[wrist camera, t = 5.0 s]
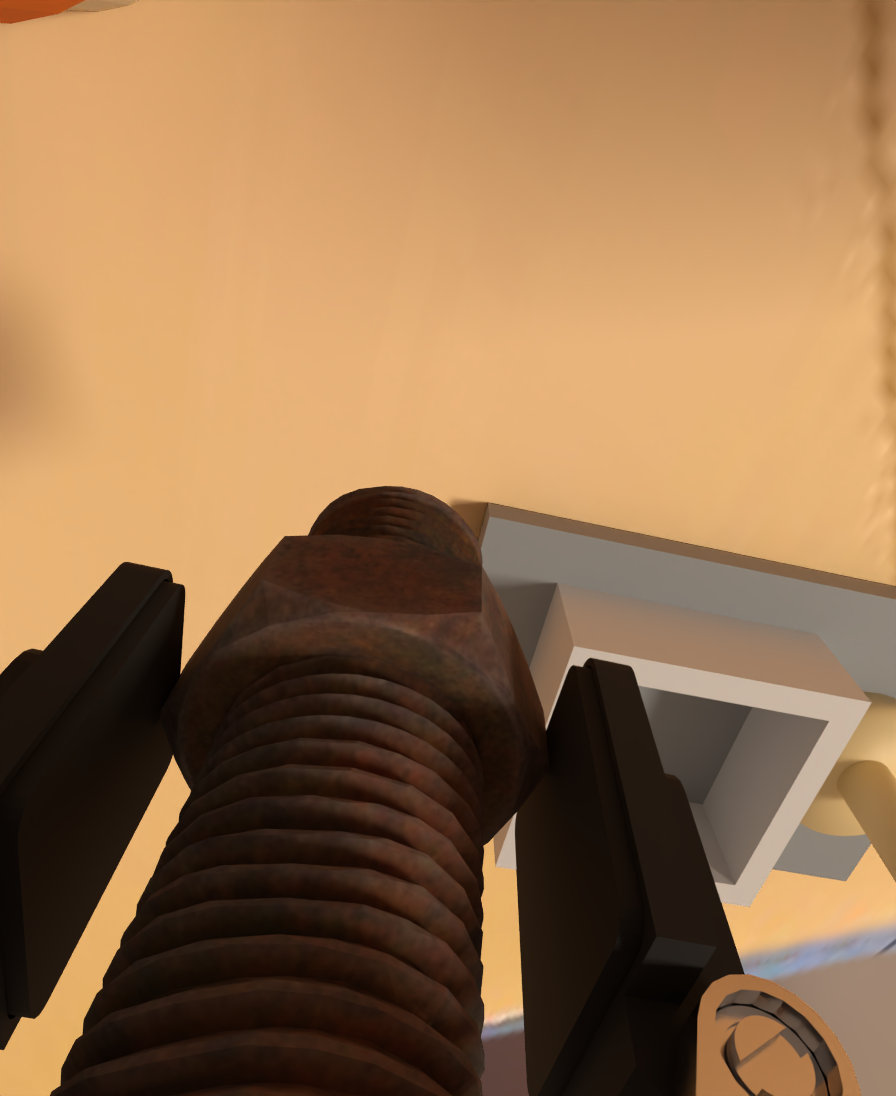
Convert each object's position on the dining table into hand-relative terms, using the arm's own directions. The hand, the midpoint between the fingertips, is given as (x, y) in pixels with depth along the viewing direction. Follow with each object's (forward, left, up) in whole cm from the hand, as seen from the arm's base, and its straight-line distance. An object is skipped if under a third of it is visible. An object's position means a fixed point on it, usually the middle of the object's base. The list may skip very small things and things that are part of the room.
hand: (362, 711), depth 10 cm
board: (-13, +10, -17) cm, 24 cm away
